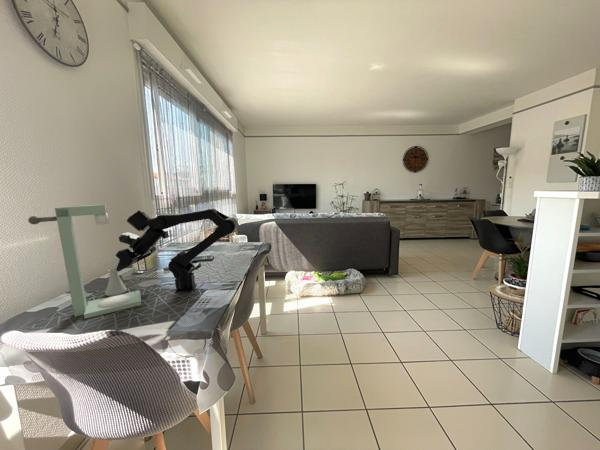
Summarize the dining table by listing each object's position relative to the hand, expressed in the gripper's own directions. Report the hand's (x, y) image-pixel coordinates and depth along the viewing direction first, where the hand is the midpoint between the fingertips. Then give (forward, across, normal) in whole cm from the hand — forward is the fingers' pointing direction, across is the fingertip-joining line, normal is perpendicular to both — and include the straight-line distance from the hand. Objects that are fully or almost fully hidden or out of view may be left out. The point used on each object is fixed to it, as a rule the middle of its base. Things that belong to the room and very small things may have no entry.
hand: (124, 267), depth 103 cm
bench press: (+9, +14, +6) cm, 18 cm away
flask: (+11, 0, +5) cm, 12 cm away
